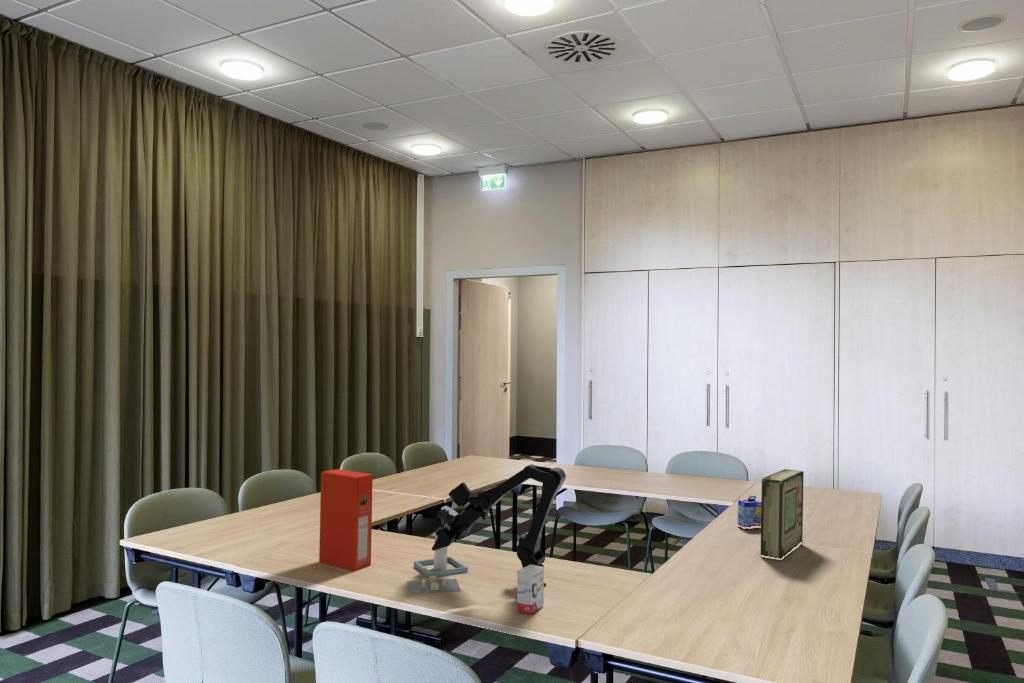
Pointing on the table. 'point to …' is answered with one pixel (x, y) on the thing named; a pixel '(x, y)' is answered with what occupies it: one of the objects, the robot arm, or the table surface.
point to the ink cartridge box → (749, 512)
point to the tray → (450, 559)
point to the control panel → (781, 512)
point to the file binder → (346, 519)
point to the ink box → (530, 589)
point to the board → (433, 585)
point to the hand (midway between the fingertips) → (437, 546)
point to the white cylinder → (440, 558)
